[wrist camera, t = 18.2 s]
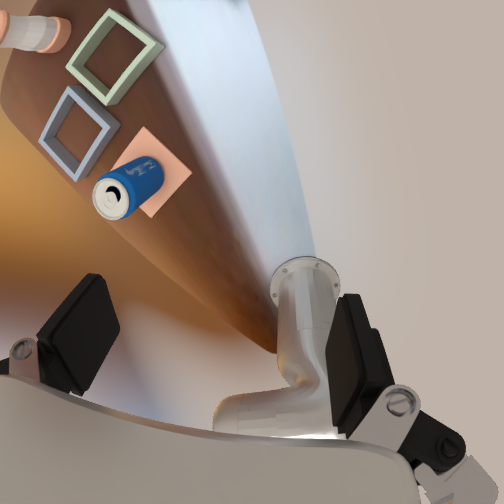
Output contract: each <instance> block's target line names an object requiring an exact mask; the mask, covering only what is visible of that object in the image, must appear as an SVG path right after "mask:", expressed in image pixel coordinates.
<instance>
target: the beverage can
mask: <svg viewBox="0 0 504 504" xmlns="http://www.w3.org/2000/svg"><path fill="white" fill-rule="evenodd" d="M163 182H164V172H163V169H162V167H161V165H160V164H159V163H158V161H156V160H155V159H154V158H152V157H148V156H142V157H138V158H136V159H134V160H132V161H130V162H128V163H126V164H124V165H122V166H120V167H118V168H116V169H114V170H112V171H110V172H108V173H106V174H104V175H103V176H102V177H101V178H100V179H99V180H98V182H97V184H96V185H95V187H94V190H93V203H94V206H95V208H96V210H97V211H98V212H99V213H100V214H101V215H102V216H103V217H105V218H106V219H109V220H117V219H123V218H126V217H128V216H129V215H130V214H131V213H133V212H134V211H135V210H136V209H137V208H138V207H140V206H141V205H142V204H143V203H144V202H145V201H147V200H148V199H149V198H150V197H151V196H153V195H154V194H155V193H156V192H157V191H159V190H160V188H161V187H162V185H163Z"/></svg>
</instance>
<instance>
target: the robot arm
mask: <svg viewBox="0 0 504 504" xmlns="http://www.w3.org/2000/svg"><path fill="white" fill-rule="evenodd" d="M285 268H286V269H285ZM339 292H340V280H339V277H338V274H337V272H336V270H335V269H334V268H333V267H332V266H331V265H330V264H329V263H327V262H326V261H323V260H321V259H318V258H314V257H300V258H296V259H292V260H290V261H288V262H286V263H284V264H283V265H281V266H280V267H279V268H278V269H277V270H276V272H275V273H274V275H273V276H272V279H271V283H270V296H271V298H272V300H273V302H274V304H275V305H276V306H277V307H278V338H277V364H278V368H279V370H280V373H281V374H282V376H283V378H284V379H285V380H286V381H287V382H288V383H289V384H290V385H291V387H286V388H281V389H278V390H271V391H263V392H255V393H247V394H238V395H233V396H229V397H227V398H225V399H223V400H222V401H220V402H219V404H218V405H217V407H216V409H215V411H214V415H213V431H208V430H202V429H195V428H189V427H184V426H179V425H174V424H169V423H164V422H159V421H155V420H151V419H147V418H143V417H139V416H135V415H131V414H128V413H124V412H121V411H117V410H114V409H110V408H107V407H104V406H101V405H98V404H95V403H92V402H89V401H86V400H83V399H81V398H78V397H75V396H72V395H70V394H69V393H70V391H71V392H72V393H73V394H76V395H79V396H83V394H84V392H85V391H87V390H88V389H89V387H90V385H91V383H92V382H93V380H94V378H95V376H96V374H97V372H98V370H99V368H100V367H101V365H102V363H103V361H104V359H105V357H106V355H107V354H108V352H109V350H110V348H111V346H112V345H113V343H114V341H115V340H116V338H117V336H118V334H119V332H120V325H119V322H118V319H117V317H116V313H115V311H114V307H113V304H112V301H111V298H110V295H109V291H108V288H107V285H106V281H105V280H104V279H103V278H102V276H101V275H99V274H91V273H89V274H87V275H86V276H85V277H84V278H83V279H82V280H81V281H80V283H79V284H78V285H77V286H76V287H75V288H74V289H73V291H72V292H71V293H70V294H69V295H68V296H67V298H66V299H65V300H64V301H63V302H62V304H61V305H60V306H59V307H58V308H57V309H56V311H55V312H54V313H53V314H52V316H51V317H50V318H49V319H48V321H47V322H46V323H45V324H44V326H43V327H42V328H41V329H40V331H39V332H38V333H37V335H36V336H37V338H38V341H37V342H36V341H35V340H34V339H32V338H28V337H27V338H22V339H20V340H18V341H17V342H16V343H15V344H14V345H13V346H12V348H11V350H10V354H9V358H6V359H4V360H1V361H0V504H421V500H420V495H419V490H418V486H417V485H421V486H422V487H423V488H424V490H425V491H426V493H425V495H426V496H427V497H428V499H429V500H430V503H431V504H494V503H495V501H496V500H497V497H498V487H497V485H496V483H495V482H494V481H493V480H492V478H491V477H490V476H489V475H488V474H487V473H486V472H485V470H484V469H483V468H482V467H481V466H480V465H479V463H478V462H477V461H476V460H475V459H474V458H473V456H472V455H470V456H469V457H468V456H467V455H466V454H465V452H466V445H465V441H464V439H463V438H462V436H461V435H459V434H458V433H457V432H455V431H454V430H452V429H450V428H448V427H447V426H445V425H444V424H442V423H440V422H439V421H437V420H436V419H434V418H432V417H431V416H429V415H427V414H426V413H424V412H423V411H421V410H420V407H421V404H420V399H419V396H418V395H417V393H416V392H415V391H414V390H413V389H411V388H410V387H407V386H405V385H399V384H397V385H395V382H394V378H393V375H392V372H391V369H390V365H389V362H388V359H387V355H386V352H385V349H384V346H383V343H382V340H381V337H380V334H379V331H378V330H377V329H375V328H371V327H370V324H369V321H368V317H367V314H366V311H365V309H364V306H363V303H362V300H361V297H360V295H359V294H344V296H343V297H339V299H338V301H337V305H336V299H337V297H338V295H339Z"/></svg>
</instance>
